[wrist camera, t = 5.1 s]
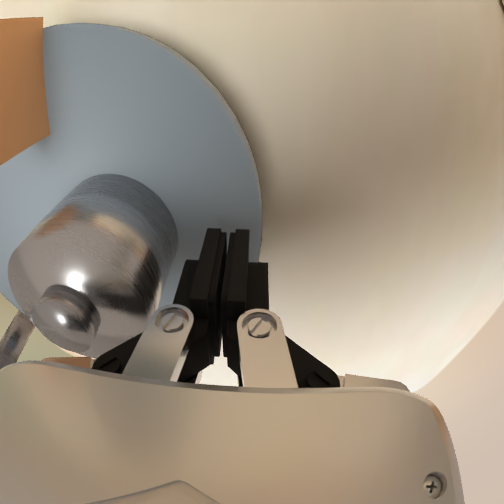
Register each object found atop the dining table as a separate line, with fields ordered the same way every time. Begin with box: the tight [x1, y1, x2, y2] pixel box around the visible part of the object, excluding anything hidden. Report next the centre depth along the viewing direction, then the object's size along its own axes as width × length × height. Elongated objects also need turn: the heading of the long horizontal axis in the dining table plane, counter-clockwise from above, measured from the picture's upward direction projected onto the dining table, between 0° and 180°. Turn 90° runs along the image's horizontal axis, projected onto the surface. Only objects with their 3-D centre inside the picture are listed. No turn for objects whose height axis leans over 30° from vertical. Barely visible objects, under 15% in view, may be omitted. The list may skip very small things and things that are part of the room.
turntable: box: [0, 17, 262, 314], centre depth 12 cm, size 20×20×8 cm
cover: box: [8, 174, 178, 359], centre depth 11 cm, size 6×6×6 cm
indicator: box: [0, 310, 35, 370], centre depth 18 cm, size 4×2×12 cm, turn 87°
